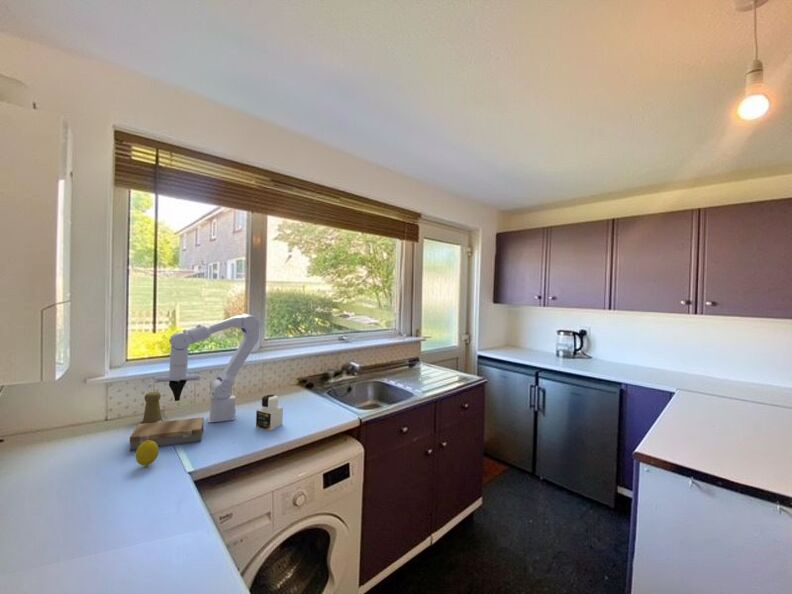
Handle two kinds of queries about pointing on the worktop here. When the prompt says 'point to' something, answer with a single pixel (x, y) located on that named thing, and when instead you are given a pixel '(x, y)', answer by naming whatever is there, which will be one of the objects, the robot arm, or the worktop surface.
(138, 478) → the worktop surface
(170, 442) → the cable duct
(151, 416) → the cork
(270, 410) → the medicine bottle
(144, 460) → the lemon
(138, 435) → the tan flat wooden board
